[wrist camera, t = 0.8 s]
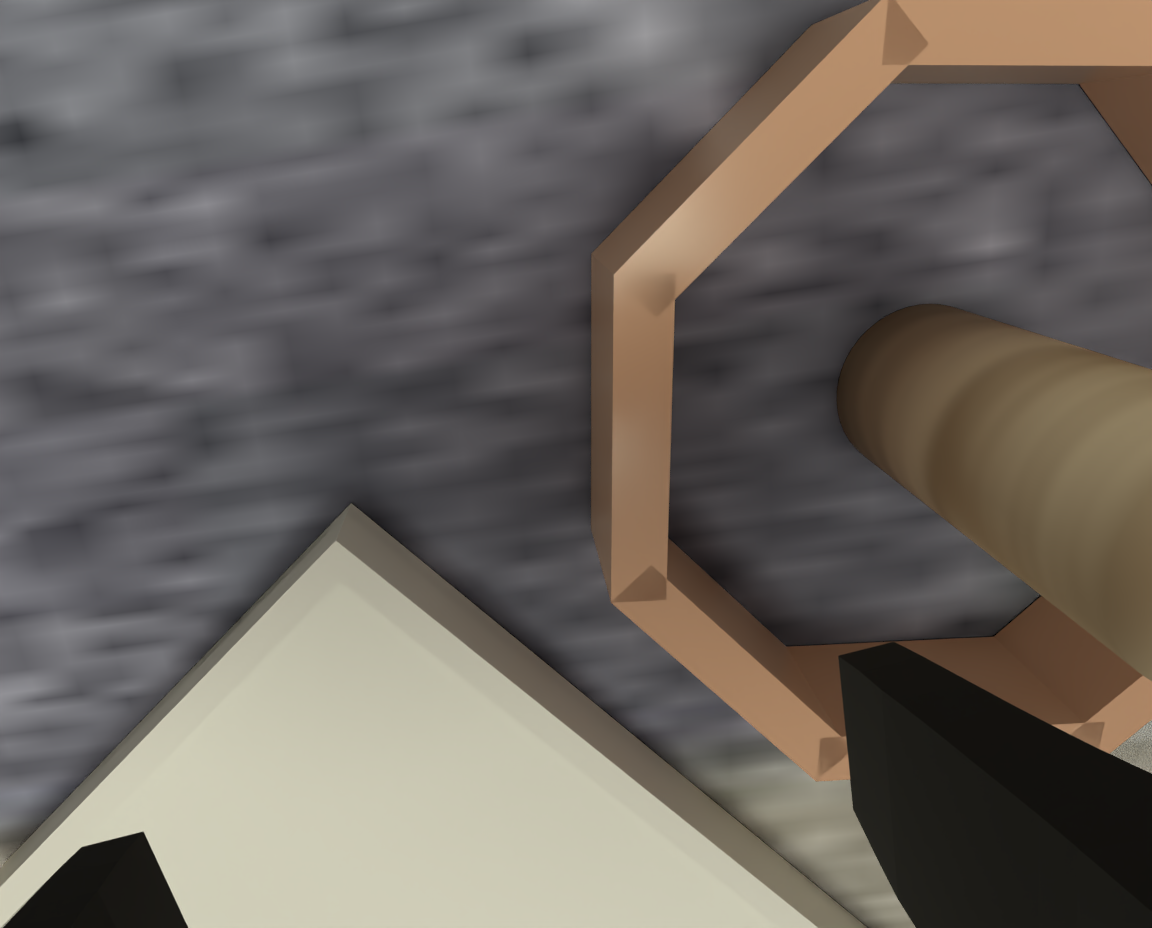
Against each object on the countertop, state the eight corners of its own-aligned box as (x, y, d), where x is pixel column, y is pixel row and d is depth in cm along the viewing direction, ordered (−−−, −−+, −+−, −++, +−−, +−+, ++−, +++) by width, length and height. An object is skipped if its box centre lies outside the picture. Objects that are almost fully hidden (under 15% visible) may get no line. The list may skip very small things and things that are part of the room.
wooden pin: (1034, 386, 20) (1448, 556, 11) (906, 501, 20) (1207, 747, 12) (933, 267, 19) (1303, 354, 10) (802, 392, 19) (1048, 574, 11)
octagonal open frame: (1354, 378, 20) (1522, 420, 17) (874, 783, 23) (940, 889, 19) (982, -153, 16) (1107, -233, 13) (449, 401, 19) (439, 453, 15)
